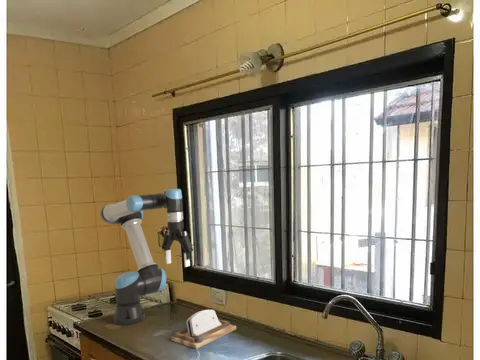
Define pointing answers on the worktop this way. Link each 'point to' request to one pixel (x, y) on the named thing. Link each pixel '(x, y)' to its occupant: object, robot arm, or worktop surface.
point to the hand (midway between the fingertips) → (177, 265)
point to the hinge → (202, 322)
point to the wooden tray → (203, 335)
